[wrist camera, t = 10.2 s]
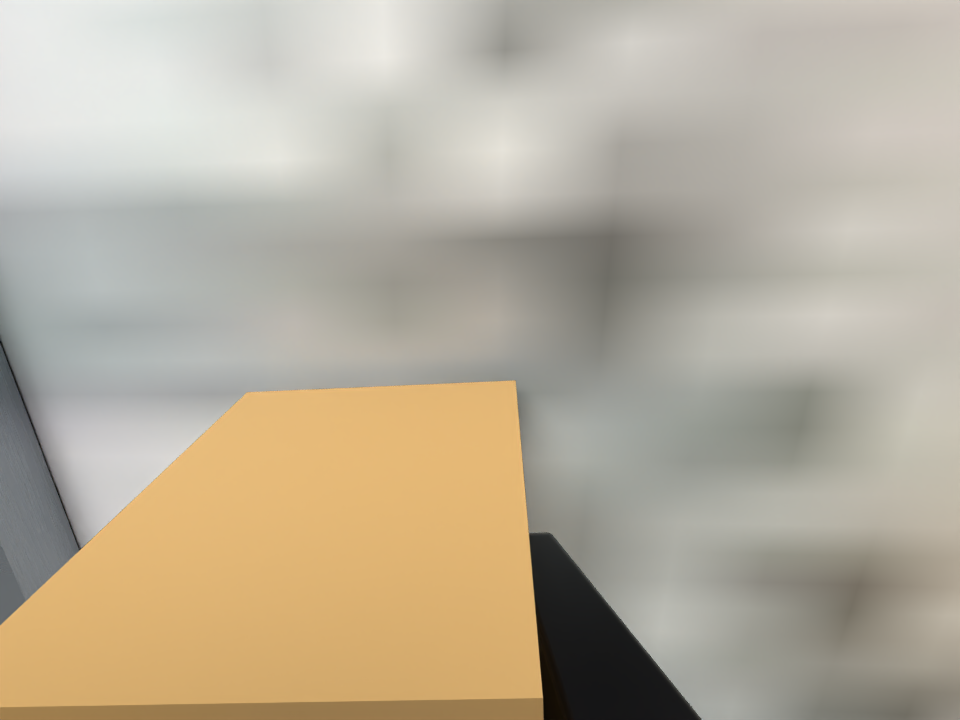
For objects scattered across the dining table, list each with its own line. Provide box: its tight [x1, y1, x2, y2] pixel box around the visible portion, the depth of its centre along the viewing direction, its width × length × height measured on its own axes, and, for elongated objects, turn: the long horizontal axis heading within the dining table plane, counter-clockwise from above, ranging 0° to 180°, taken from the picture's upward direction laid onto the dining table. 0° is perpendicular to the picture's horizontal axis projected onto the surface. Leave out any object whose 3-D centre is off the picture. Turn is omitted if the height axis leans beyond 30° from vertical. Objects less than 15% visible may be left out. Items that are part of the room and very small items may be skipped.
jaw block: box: [0, 381, 544, 720], centre depth 7 cm, size 5×4×5 cm
